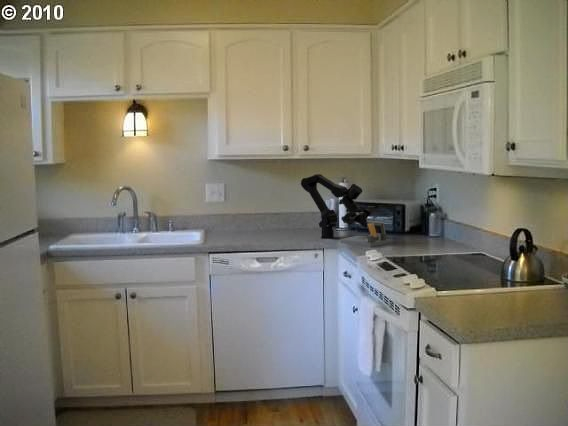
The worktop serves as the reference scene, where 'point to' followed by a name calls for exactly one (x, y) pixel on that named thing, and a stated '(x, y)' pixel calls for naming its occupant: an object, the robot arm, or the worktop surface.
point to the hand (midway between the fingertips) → (366, 227)
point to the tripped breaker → (372, 230)
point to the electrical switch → (378, 227)
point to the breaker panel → (366, 240)
